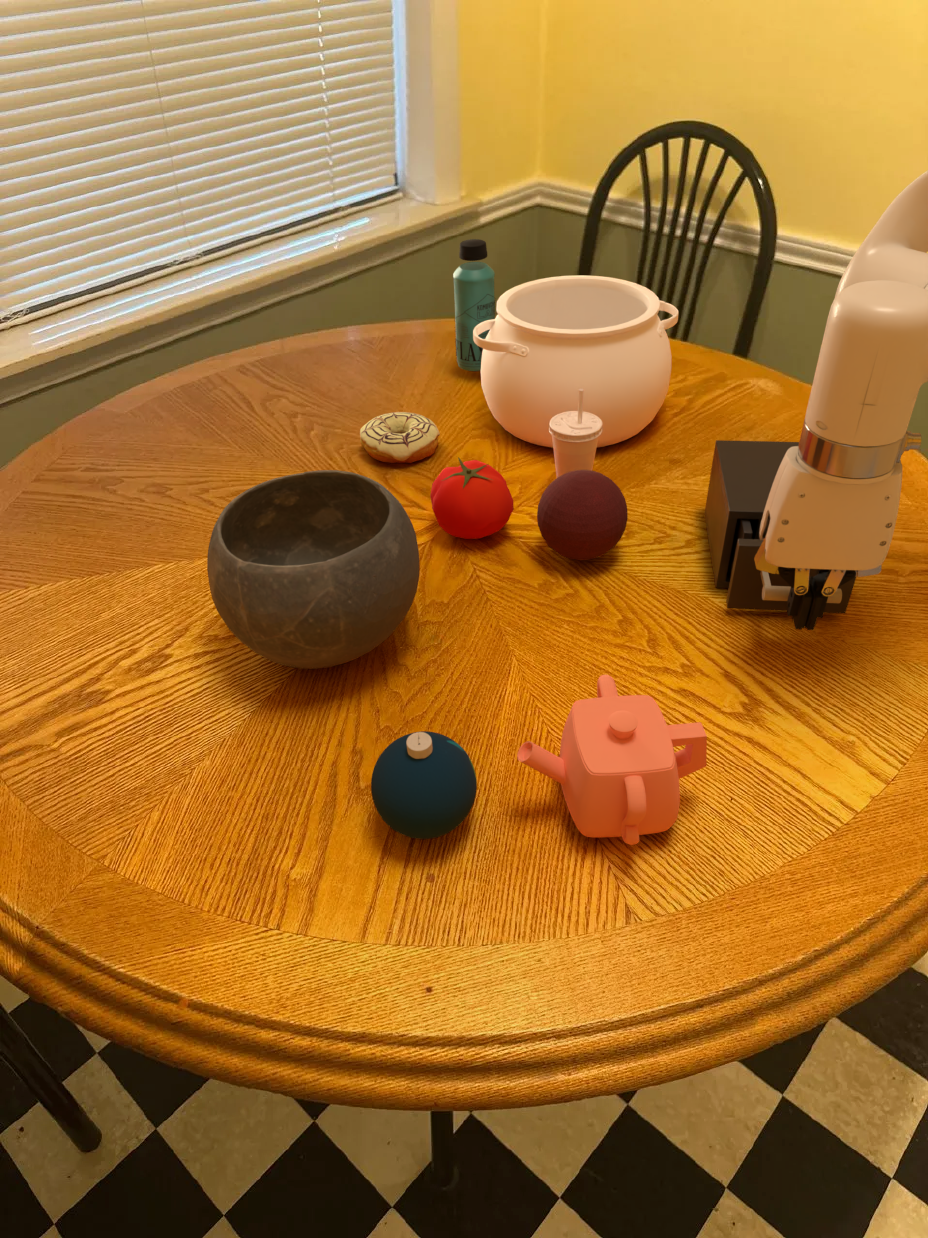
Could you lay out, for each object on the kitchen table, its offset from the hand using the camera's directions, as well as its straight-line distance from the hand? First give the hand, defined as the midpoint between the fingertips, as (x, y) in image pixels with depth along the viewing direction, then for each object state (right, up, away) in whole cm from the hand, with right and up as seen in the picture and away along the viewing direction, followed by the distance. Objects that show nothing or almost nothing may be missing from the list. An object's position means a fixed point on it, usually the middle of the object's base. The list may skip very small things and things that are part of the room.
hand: (801, 620), depth 81 cm
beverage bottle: (-30, +40, +57) cm, 76 cm away
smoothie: (-18, +16, +28) cm, 37 cm away
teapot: (-20, -15, -9) cm, 26 cm away
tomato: (-31, +11, +23) cm, 40 cm away
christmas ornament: (-35, -16, -10) cm, 40 cm away
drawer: (+2, +4, +10) cm, 11 cm away
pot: (-16, +30, +44) cm, 55 cm away
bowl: (-46, -2, +9) cm, 47 cm away
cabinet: (+3, +8, +16) cm, 18 cm away
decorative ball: (-18, +8, +18) cm, 27 cm away
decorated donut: (-41, +24, +39) cm, 61 cm away
